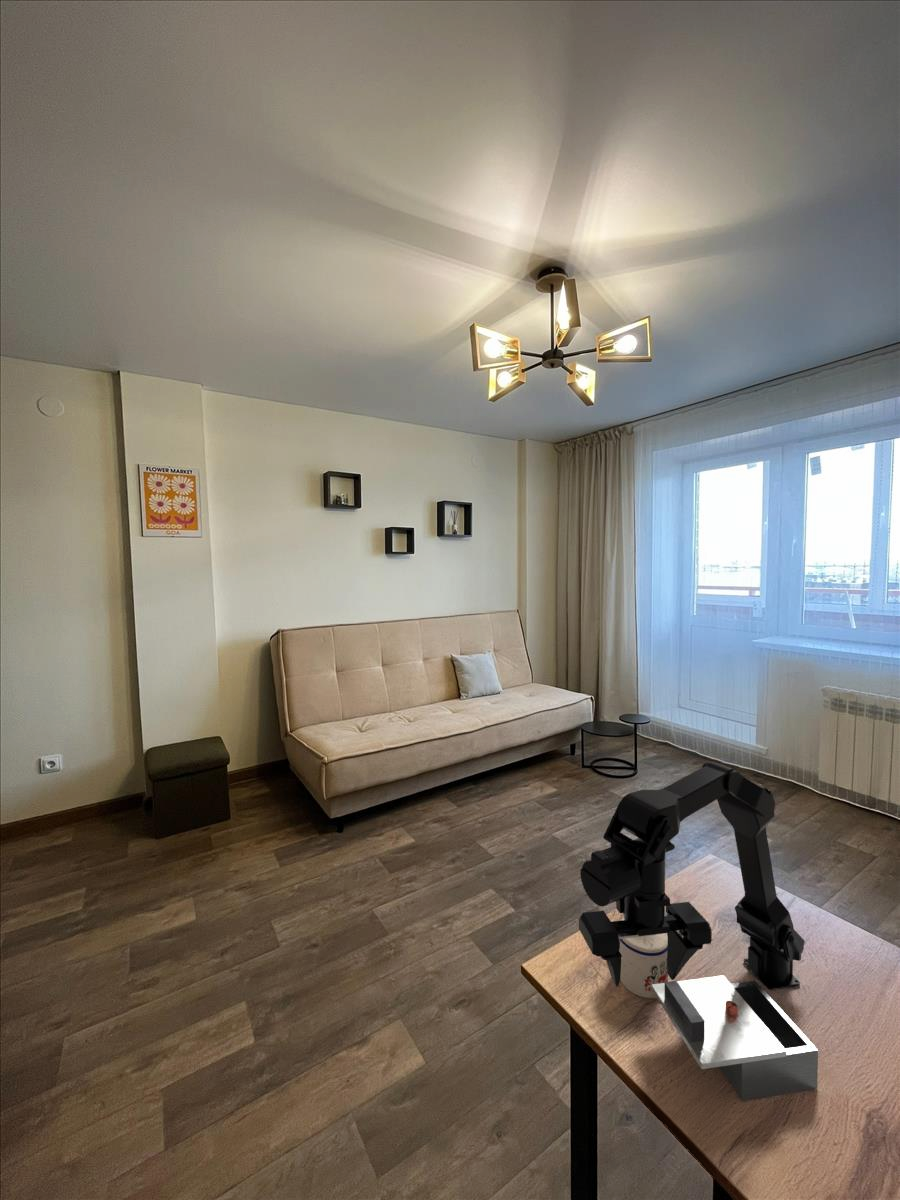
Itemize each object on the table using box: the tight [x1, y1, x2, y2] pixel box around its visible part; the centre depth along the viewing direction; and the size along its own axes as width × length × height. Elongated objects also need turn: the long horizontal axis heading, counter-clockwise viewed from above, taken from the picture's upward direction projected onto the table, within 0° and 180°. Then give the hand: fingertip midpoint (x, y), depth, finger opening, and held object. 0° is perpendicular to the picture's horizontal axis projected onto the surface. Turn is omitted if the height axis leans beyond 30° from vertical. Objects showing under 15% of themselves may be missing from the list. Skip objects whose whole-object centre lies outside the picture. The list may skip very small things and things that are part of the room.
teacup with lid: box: [619, 917, 669, 999], centre depth 89 cm, size 12×9×12 cm
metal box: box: [718, 980, 819, 1102], centre depth 74 cm, size 12×12×6 cm
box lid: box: [651, 974, 787, 1070], centre depth 73 cm, size 13×13×4 cm
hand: (643, 980), depth 72 cm, fingers open, 9 cm apart
